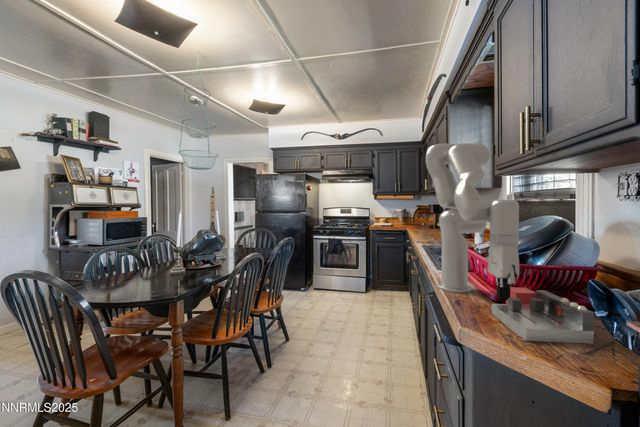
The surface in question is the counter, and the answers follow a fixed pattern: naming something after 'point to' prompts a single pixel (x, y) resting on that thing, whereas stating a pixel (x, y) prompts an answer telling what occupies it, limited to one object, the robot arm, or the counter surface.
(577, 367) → the counter surface
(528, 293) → the matte red cuboid
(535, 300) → the block
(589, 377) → the counter surface
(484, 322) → the counter surface
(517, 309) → the block
